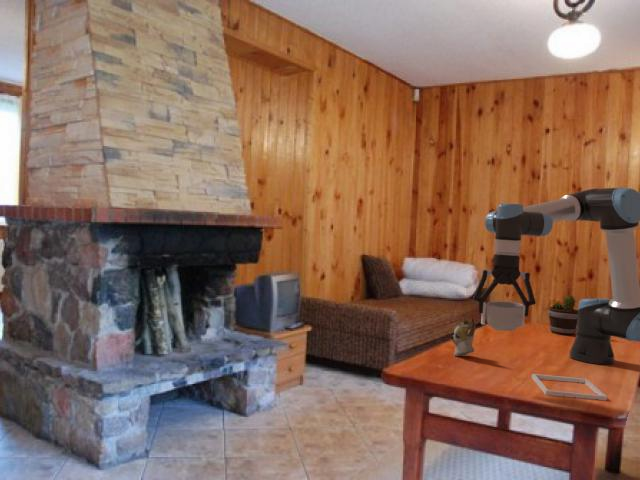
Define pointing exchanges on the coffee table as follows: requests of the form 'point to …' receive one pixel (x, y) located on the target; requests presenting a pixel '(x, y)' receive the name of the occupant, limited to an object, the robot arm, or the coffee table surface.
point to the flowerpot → (563, 317)
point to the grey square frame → (568, 394)
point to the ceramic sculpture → (464, 337)
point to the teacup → (504, 315)
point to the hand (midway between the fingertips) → (502, 325)
